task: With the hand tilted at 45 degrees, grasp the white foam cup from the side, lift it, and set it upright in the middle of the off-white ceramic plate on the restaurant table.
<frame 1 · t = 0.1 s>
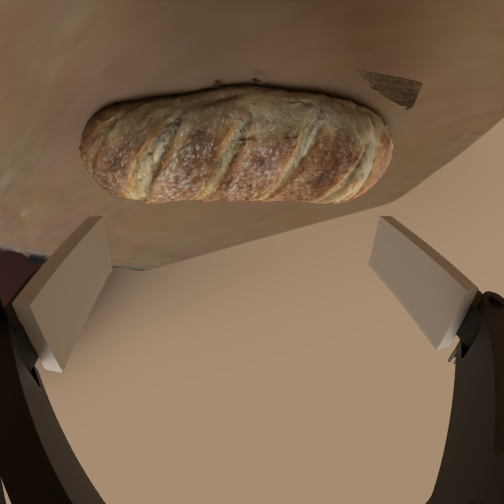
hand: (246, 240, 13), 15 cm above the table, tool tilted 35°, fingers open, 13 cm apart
bread loaf: (239, 124, 26), on the table
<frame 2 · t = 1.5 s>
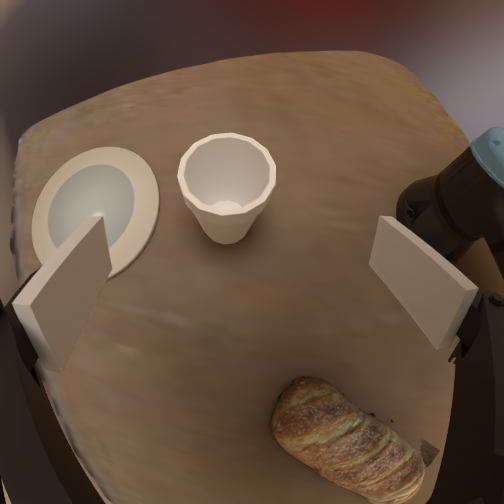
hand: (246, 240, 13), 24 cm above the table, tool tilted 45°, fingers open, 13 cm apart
plate: (91, 211, 38), on the table
bread loaf: (351, 447, 32), on the table
foam cup: (226, 222, 39), on the table
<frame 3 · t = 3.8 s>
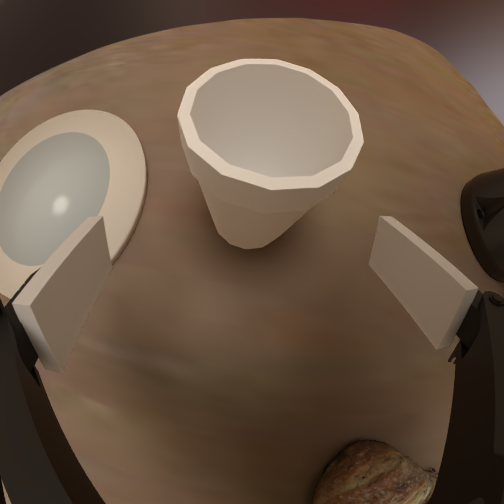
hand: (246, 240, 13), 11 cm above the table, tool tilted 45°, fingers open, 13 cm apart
plate: (50, 197, 24), on the table
foam cup: (248, 215, 26), on the table
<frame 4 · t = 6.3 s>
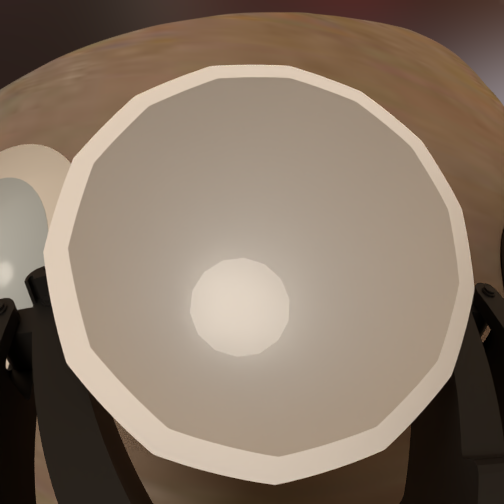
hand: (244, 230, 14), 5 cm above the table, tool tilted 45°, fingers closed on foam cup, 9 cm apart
foam cup: (239, 308, 18), on the table, touching gripper
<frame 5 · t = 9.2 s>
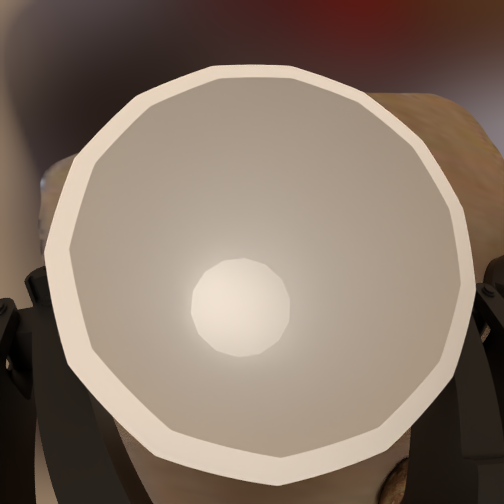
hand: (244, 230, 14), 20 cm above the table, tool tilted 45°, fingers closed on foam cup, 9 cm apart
bread loaf: (430, 497, 26), on the table
foam cup: (240, 308, 18), point 15 cm above the table, touching gripper
when the fingers open (7 cm above the table, at t = 12.2 s): foam cup drops 1 cm, resting on plate.
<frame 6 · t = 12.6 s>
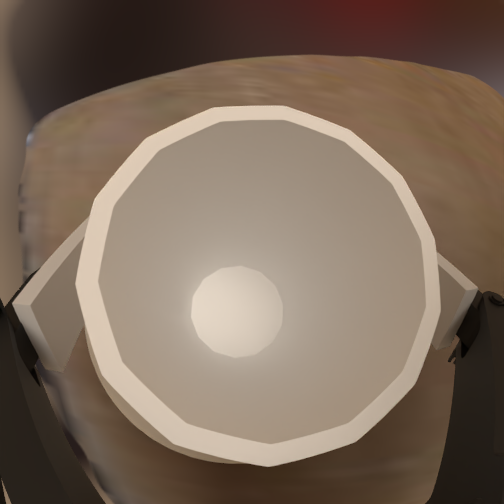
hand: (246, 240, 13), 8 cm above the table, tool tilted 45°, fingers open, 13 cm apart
plate: (236, 312, 20), on the table
foam cup: (236, 312, 19), point 1 cm above the table, touching plate
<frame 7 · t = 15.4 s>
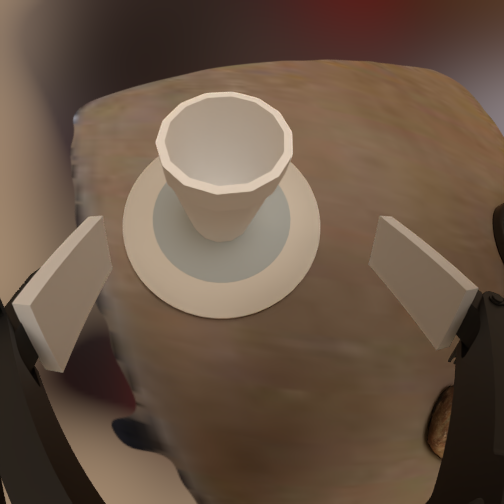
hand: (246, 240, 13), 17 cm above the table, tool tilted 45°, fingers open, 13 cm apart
plate: (221, 218, 32), on the table
bread loaf: (471, 439, 27), on the table
foam cup: (220, 215, 31), point 1 cm above the table, touching plate
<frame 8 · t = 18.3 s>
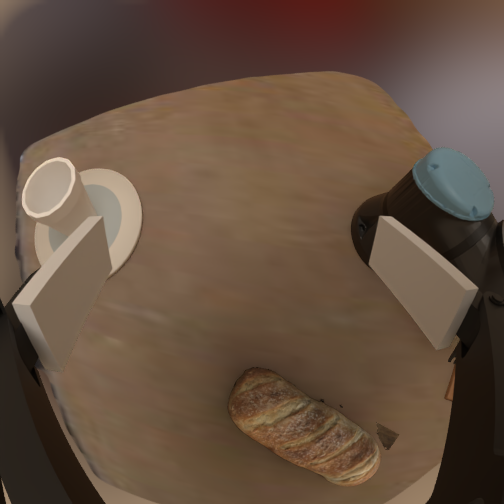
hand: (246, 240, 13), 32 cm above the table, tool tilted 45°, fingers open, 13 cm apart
plate: (85, 225, 44), on the table
gingerbread man figurine: (455, 379, 43), on the table
bread loaf: (306, 430, 39), on the table
foam cup: (82, 223, 43), point 1 cm above the table, touching plate
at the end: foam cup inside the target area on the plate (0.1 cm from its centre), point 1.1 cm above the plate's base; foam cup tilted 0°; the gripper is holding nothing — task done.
